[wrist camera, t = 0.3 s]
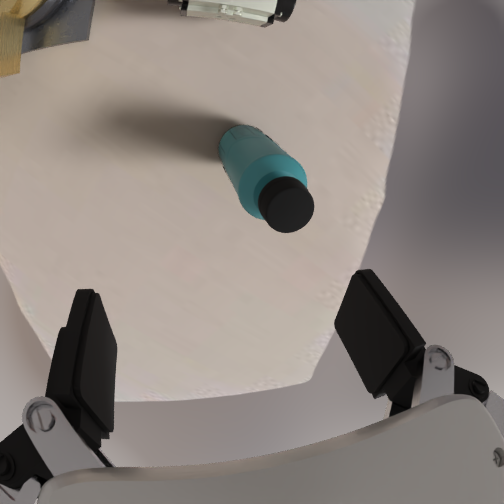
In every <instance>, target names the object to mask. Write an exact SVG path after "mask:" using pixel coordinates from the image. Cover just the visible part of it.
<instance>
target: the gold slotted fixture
mask: <svg viewBox="0 0 504 504" xmlns="http://www.w3.org/2000/svg"><path fill="white" fill-rule="evenodd" d="M46 1H47V0H0V78H2V77H6V76H10V75H13V74H17V73H19V72H20V58H21V48H22V39H23V32H24V25H25V19H26V18H28V17H29V16H31V15H32V14H34V13H35V12H36V11H37V10H38V9H40V8H41V7H42V6H43V5H44V3H45V2H46Z"/></svg>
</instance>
